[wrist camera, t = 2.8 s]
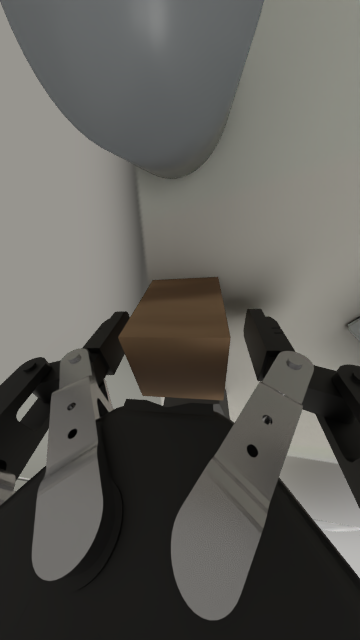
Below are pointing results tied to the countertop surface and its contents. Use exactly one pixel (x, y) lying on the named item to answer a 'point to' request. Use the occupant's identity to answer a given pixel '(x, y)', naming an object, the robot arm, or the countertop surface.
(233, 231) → the countertop surface
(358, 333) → the tea box
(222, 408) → the charcoal block
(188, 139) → the grey egg shape
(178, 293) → the walnut block
